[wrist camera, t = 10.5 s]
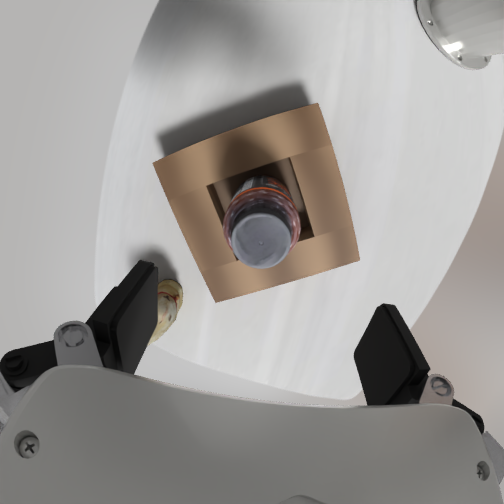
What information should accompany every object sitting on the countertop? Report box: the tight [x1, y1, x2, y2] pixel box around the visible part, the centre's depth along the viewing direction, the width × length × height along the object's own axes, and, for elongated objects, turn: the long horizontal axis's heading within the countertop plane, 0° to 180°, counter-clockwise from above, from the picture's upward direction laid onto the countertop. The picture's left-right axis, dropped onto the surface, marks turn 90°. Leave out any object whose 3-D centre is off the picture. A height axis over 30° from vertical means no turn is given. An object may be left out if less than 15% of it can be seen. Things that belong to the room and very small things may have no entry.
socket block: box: [153, 103, 360, 303], centre depth 28 cm, size 16×16×4 cm
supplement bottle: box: [223, 175, 301, 269], centre depth 23 cm, size 6×6×11 cm
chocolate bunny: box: [147, 279, 183, 346], centre depth 31 cm, size 6×8×10 cm
